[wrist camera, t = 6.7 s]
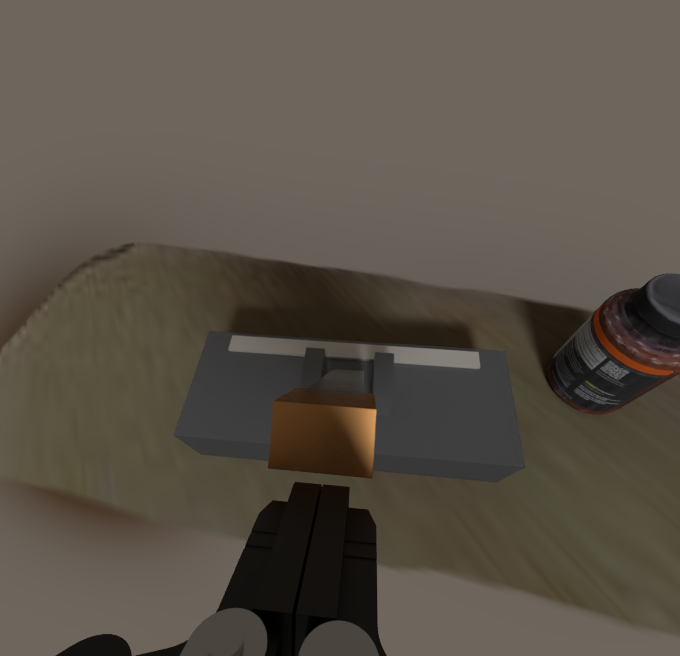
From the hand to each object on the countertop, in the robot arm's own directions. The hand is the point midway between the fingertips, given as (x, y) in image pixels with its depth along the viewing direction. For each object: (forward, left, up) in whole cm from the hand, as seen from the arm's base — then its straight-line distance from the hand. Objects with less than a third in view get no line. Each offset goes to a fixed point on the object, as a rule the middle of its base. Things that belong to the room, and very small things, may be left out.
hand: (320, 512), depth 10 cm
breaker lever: (0, -9, -11) cm, 14 cm away
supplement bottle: (-19, -13, -17) cm, 29 cm away
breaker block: (0, -9, -17) cm, 19 cm away
